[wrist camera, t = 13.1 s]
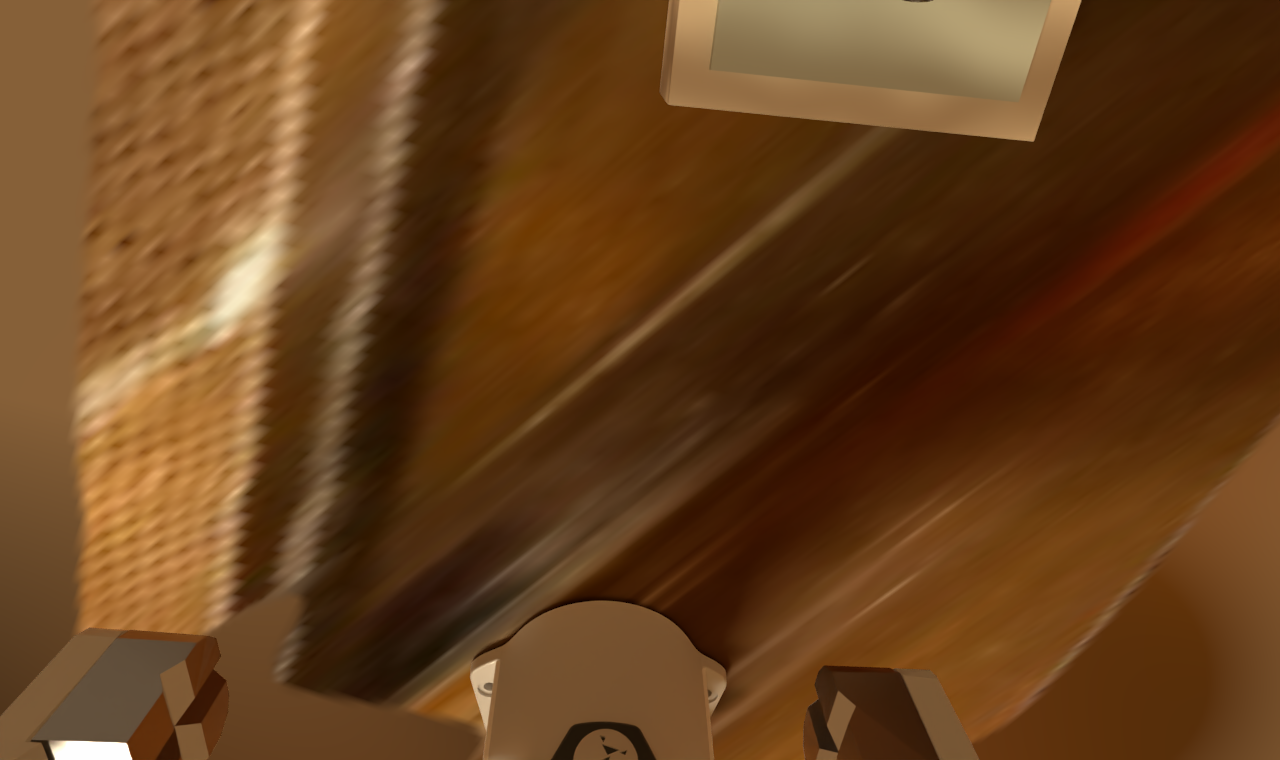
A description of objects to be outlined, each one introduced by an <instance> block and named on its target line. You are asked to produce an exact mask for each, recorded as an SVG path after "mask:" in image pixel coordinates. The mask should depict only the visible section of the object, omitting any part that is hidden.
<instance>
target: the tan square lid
mask: <svg viewBox="0 0 1280 760" xmlns="http://www.w3.org/2000/svg"><path fill="white" fill-rule="evenodd" d="M1080 3H1081V0H933V1H930V2H909V1H904V0H669V5H668V15H667V25H666V35H665V44H664V54H663V64H662V74H661V83H660V94H661V95H662V97H663V98H664V99H665V101H666V102H667V104H668V105H676V106H686V107H696V108H706V109H716V110H726V111H735V112H745V113H755V114H765V115H775V116H785V117H795V118H805V119H815V120H825V121H835V122H845V123H855V124H865V125H874V126H884V127H894V128H904V129H914V130H924V131H934V132H944V133H954V134H964V135H974V136H984V137H994V138H1004V139H1013V140H1023V141H1033V142H1034V139H1035V136H1036V133H1037V130H1038V127H1039V124H1040V121H1041V118H1042V115H1043V112H1044V109H1045V106H1046V103H1047V100H1048V97H1049V94H1050V92H1051V89H1052V86H1053V83H1054V80H1055V77H1056V74H1057V71H1058V68H1059V65H1060V62H1061V59H1062V56H1063V53H1064V50H1065V47H1066V44H1067V41H1068V38H1069V35H1070V32H1071V29H1072V26H1073V23H1074V21H1075V18H1076V15H1077V12H1078V9H1079V6H1080Z"/></svg>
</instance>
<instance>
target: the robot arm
mask: <svg viewBox="0 0 1280 760" xmlns="http://www.w3.org/2000/svg"><path fill="white" fill-rule="evenodd" d="M220 657H221V654H220V650H219V647H218V643H217V639H216V638H214V637H210V636H203V635H190V634H177V633H164V632H150V631H137V630H116V629H102V628H88V629H86V630H84V631H82V632H81V633H79V634H77V635H75V636H74V637H73V638H72V639H71V640H70V641H69V643H67V645H66V646H65V647H64V648H63V649H62V650H61V651H60V652H59V653H58V654H57V655H56V656H55V657H54V659H53V660H52V661H51V662H50V663H49V664H48V665H47V666H46V667H45V668H44V670H43V671H42V672H41V673H40V674H39V675H38V676H37V677H36V678H35V679H34V681H32V683H31V684H30V685H29V686H28V687H27V688H26V689H25V690H24V691H23V692H22V693H21V694H20V696H19V697H18V698H17V699H16V700H15V701H14V702H13V703H12V705H10V707H9V708H8V709H7V710H6V711H5V712H4V713H3V714H2V715H1V716H0V760H206V759H208V758H209V757H210V755H211V753H212V751H213V749H214V747H215V746H216V744H217V742H218V740H219V738H220V736H221V734H222V730H223V727H224V723H225V721H226V717H227V714H228V706H229V691H228V686H227V682H226V680H225V679H224V678H223V677H221V676H220V675H219V674H218V673H217V672H216V671H215V670H214V669H213V668H214V667H215V665H216V664H217V662H218V661H219V659H220ZM470 679H471V682H472V686H473V689H474V692H475V696H476V699H477V702H478V705H479V709H480V712H481V715H482V718H483V722H484V725H485V728H486V739H485V747H484V754H483V760H714V753H713V742H712V731H711V721H710V717H711V715H712V713H713V712H714V710H715V708H716V706H717V704H718V702H719V700H720V698H721V696H722V694H723V692H724V690H725V688H726V685H727V679H726V671H725V669H724V668H723V667H722V666H721V665H720V664H719V663H717V662H716V661H714V660H712V659H710V658H709V657H707V656H705V655H703V654H701V653H700V652H699V651H698V650H697V649H696V648H695V647H694V646H693V644H692V643H691V641H690V640H689V639H688V637H687V636H686V635H685V633H684V632H683V631H682V630H681V629H680V628H679V627H678V626H677V625H676V624H674V623H673V622H672V621H670V620H669V619H667V618H666V617H664V616H662V615H661V614H659V613H657V612H654V611H652V610H650V609H647V608H644V607H641V606H638V605H634V604H630V603H624V602H617V601H587V602H579V603H574V604H569V605H565V606H562V607H559V608H556V609H553V610H551V611H548V612H546V613H544V614H542V615H540V616H538V617H537V618H535V619H533V620H532V621H530V622H529V623H528V624H526V625H525V626H524V627H523V628H522V629H521V630H520V631H519V632H518V633H517V634H516V635H515V636H514V637H513V638H512V639H511V640H509V641H508V642H507V643H506V644H504V645H503V646H501V647H498V648H496V649H493V650H491V651H489V652H486V653H484V654H482V655H480V656H479V657H477V658H476V659H475V660H474V661H473V662H472V664H471V673H470ZM815 688H816V691H817V694H818V698H819V699H818V700H817V701H815V702H814V703H813V704H812V705H810V706H809V707H808V709H807V713H806V717H805V721H804V730H803V748H804V755H805V760H979V758H978V756H977V754H976V752H975V750H974V748H973V746H972V744H971V742H970V740H969V738H968V736H967V735H966V733H965V731H964V729H963V727H962V725H961V723H960V721H959V719H958V717H957V715H956V713H955V711H954V709H953V707H952V705H951V704H950V702H949V700H948V698H947V696H946V694H945V692H944V690H943V688H942V686H941V684H940V682H939V680H938V678H937V676H936V675H934V674H933V673H932V672H931V671H930V670H917V669H891V668H877V667H850V666H823V667H822V668H821V670H820V671H819V672H818V675H817V679H816V682H815Z"/></svg>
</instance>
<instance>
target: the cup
mask: <svg viewBox="0 0 1280 760" xmlns="http://www.w3.org/2000/svg"><path fill="white" fill-rule="evenodd" d="M904 1H909V2H930V1H933V0H904Z"/></svg>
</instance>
